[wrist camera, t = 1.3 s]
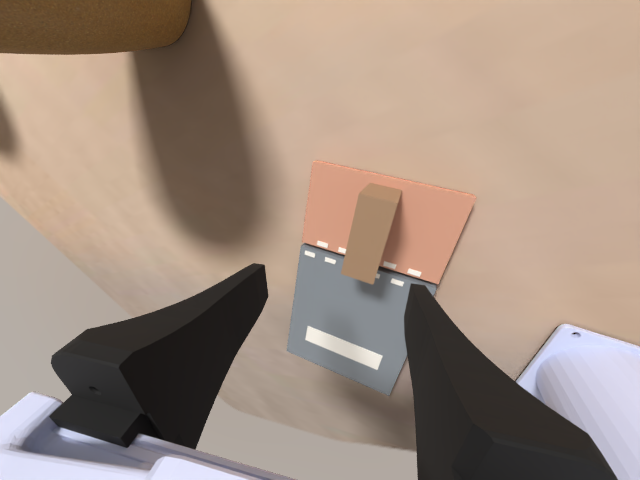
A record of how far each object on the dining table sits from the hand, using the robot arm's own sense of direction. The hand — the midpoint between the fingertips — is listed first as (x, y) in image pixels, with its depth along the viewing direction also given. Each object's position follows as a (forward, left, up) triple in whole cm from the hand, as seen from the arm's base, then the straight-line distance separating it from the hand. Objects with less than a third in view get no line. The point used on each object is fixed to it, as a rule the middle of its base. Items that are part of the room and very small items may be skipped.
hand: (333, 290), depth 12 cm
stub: (-1, -1, -10) cm, 10 cm away
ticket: (-1, +10, -10) cm, 15 cm away
